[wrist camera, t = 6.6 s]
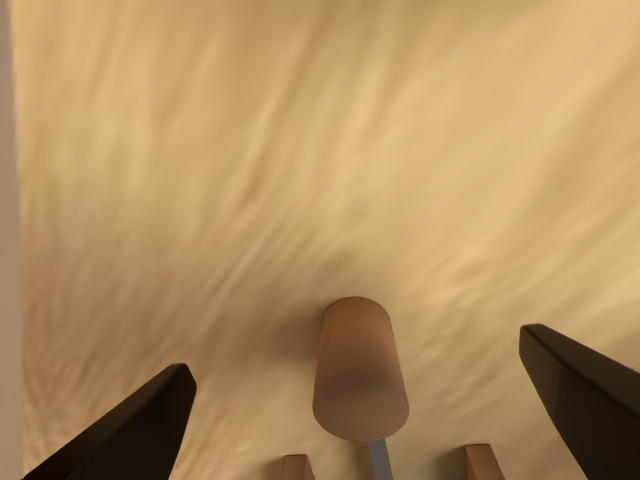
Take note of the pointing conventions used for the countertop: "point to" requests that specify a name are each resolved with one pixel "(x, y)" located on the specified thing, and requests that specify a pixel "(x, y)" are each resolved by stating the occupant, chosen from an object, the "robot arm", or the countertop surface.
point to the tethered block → (360, 378)
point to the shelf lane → (479, 458)
